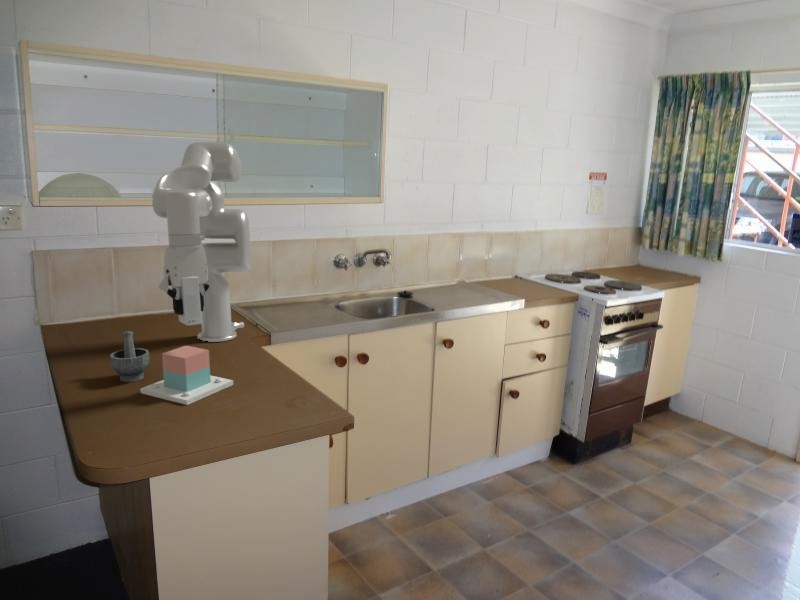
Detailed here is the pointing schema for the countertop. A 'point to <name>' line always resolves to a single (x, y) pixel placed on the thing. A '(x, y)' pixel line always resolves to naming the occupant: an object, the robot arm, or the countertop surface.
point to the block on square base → (186, 377)
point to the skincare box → (190, 302)
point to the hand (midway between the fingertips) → (189, 311)
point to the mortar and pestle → (130, 360)
